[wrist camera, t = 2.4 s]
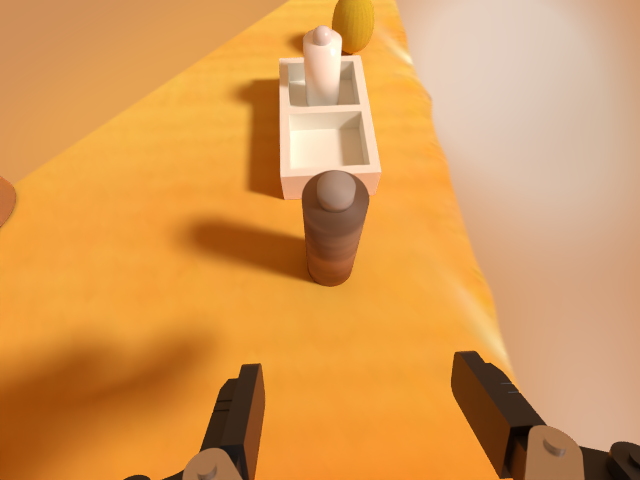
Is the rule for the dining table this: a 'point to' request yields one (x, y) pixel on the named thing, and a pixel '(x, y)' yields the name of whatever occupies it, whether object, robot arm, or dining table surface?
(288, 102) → the caddy
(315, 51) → the salt shaker
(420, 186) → the dining table surface
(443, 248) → the dining table surface
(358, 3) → the lemon
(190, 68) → the dining table surface
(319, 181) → the pepper mill
